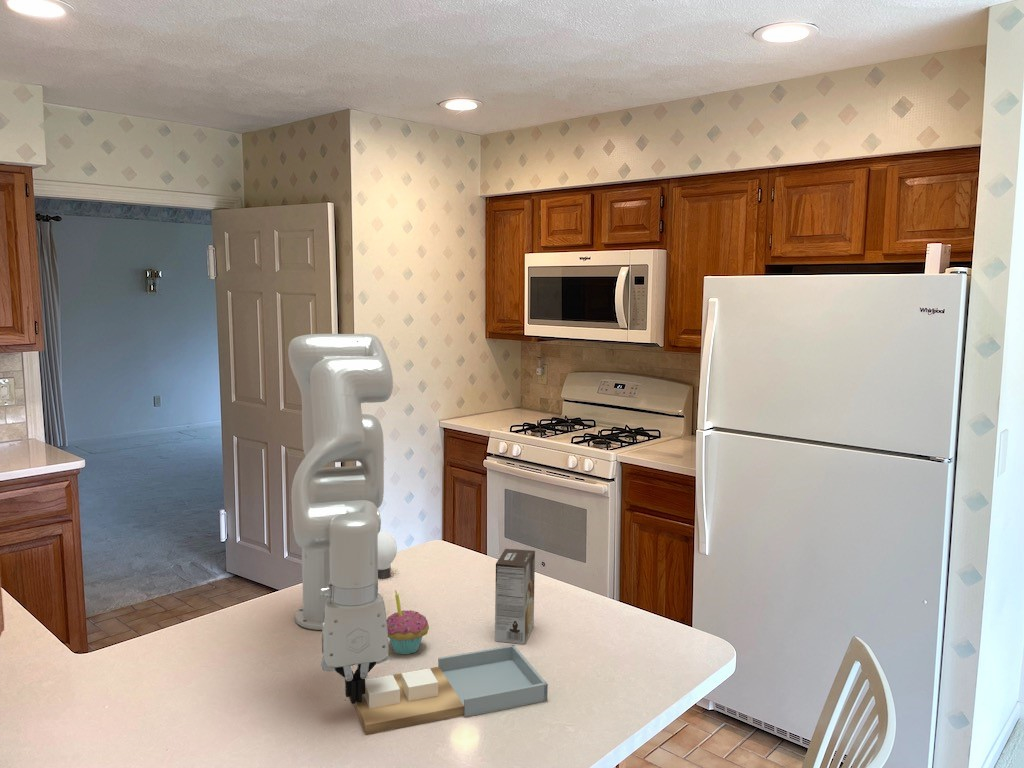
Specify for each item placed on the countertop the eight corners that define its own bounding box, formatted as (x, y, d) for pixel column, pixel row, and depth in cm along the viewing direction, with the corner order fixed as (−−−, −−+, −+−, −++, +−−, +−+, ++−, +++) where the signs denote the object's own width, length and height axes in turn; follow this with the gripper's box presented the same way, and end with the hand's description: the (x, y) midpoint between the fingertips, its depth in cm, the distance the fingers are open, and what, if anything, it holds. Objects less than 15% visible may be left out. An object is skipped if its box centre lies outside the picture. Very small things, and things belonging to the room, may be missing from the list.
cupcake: (391, 662, 146) (391, 600, 144) (377, 643, 153) (377, 584, 152) (435, 653, 150) (435, 592, 148) (419, 635, 157) (419, 577, 156)
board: (349, 691, 136) (349, 682, 135) (439, 675, 142) (439, 666, 141) (365, 734, 123) (365, 725, 123) (463, 715, 129) (463, 706, 128)
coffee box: (503, 622, 164) (505, 547, 162) (534, 625, 163) (535, 549, 160) (493, 641, 155) (495, 562, 153) (526, 645, 154) (527, 565, 151)
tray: (438, 673, 142) (438, 657, 142) (513, 660, 148) (513, 644, 147) (464, 717, 128) (465, 699, 128) (547, 700, 134) (547, 684, 133)
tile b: (401, 686, 134) (401, 673, 134) (429, 681, 136) (429, 668, 136) (408, 701, 130) (408, 687, 129) (438, 695, 131) (438, 682, 131)
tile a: (363, 693, 132) (363, 679, 132) (392, 688, 134) (392, 674, 133) (369, 708, 127) (369, 694, 127) (399, 702, 129) (399, 689, 129)
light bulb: (364, 580, 185) (363, 534, 184) (373, 569, 192) (373, 525, 190) (391, 582, 184) (391, 536, 183) (400, 571, 191) (400, 527, 189)
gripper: (309, 606, 120) (311, 719, 123) (405, 593, 126) (405, 702, 128) (303, 588, 127) (305, 695, 130) (394, 577, 133) (395, 680, 135)
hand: (355, 698), depth 129 cm, fingers closed
